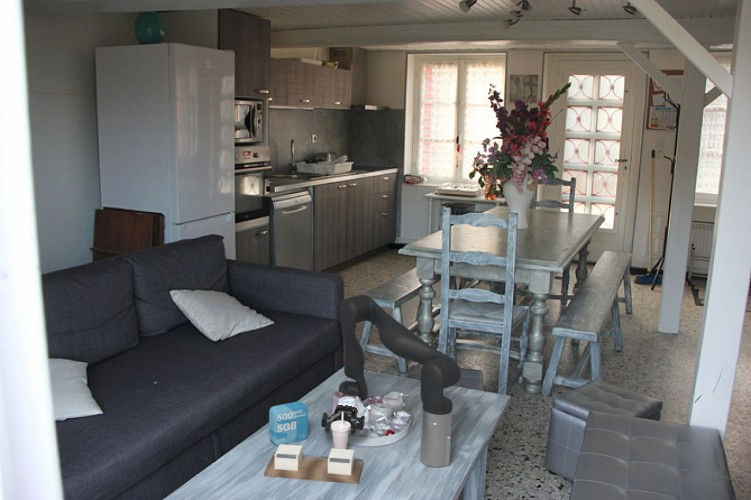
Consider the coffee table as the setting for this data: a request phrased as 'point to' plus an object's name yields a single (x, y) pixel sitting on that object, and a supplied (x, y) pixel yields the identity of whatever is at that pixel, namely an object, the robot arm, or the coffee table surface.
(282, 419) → the data package
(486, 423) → the coffee table surface
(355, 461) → the rail board
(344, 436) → the smoothie
